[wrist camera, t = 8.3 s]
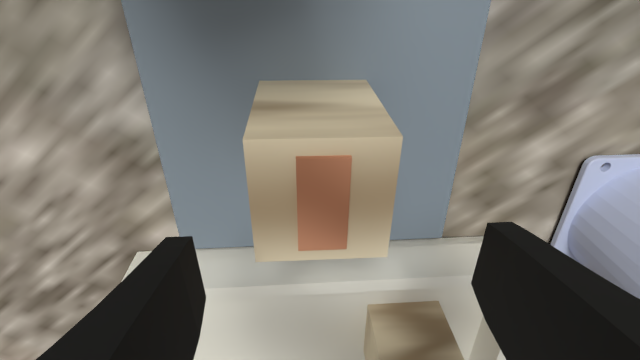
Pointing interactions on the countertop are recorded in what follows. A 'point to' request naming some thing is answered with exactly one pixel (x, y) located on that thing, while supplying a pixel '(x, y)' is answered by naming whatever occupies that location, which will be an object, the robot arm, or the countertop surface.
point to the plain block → (409, 332)
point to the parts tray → (332, 300)
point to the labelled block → (320, 170)
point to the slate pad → (302, 64)
